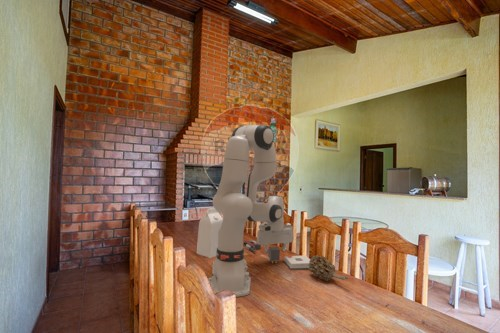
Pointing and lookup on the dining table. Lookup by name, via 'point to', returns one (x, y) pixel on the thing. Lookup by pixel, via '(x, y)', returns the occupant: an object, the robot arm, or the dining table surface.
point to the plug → (274, 254)
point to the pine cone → (323, 268)
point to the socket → (297, 262)
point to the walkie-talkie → (252, 245)
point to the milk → (209, 233)
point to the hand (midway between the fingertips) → (275, 251)
